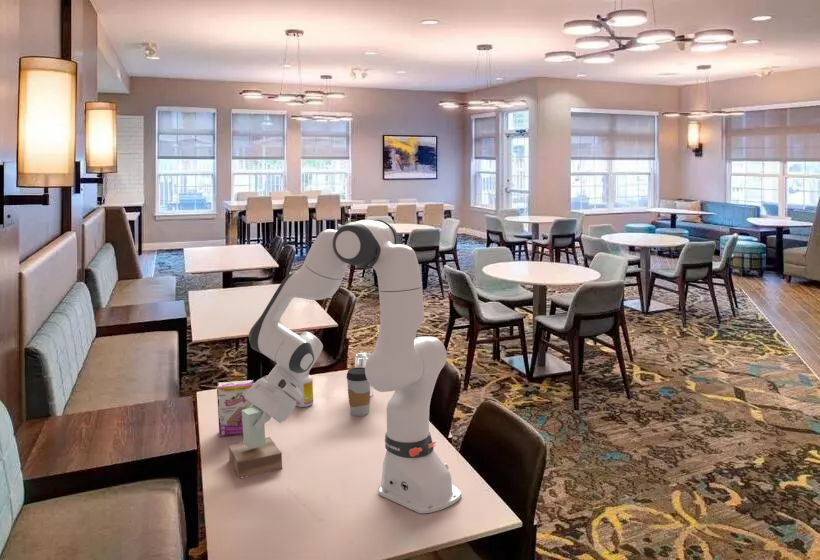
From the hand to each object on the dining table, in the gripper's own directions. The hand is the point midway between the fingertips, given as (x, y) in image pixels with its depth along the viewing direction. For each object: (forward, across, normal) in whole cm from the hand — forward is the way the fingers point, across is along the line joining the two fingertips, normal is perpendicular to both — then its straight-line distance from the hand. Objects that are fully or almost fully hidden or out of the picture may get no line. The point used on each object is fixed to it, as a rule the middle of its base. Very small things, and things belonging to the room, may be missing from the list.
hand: (251, 424), depth 178 cm
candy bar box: (+5, -24, +13) cm, 28 cm away
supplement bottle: (-15, -32, +33) cm, 48 cm away
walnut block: (+9, 0, +9) cm, 13 cm away
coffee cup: (-23, -13, +40) cm, 48 cm away
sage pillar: (+4, 0, +5) cm, 6 cm away
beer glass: (-30, -26, +48) cm, 63 cm away
